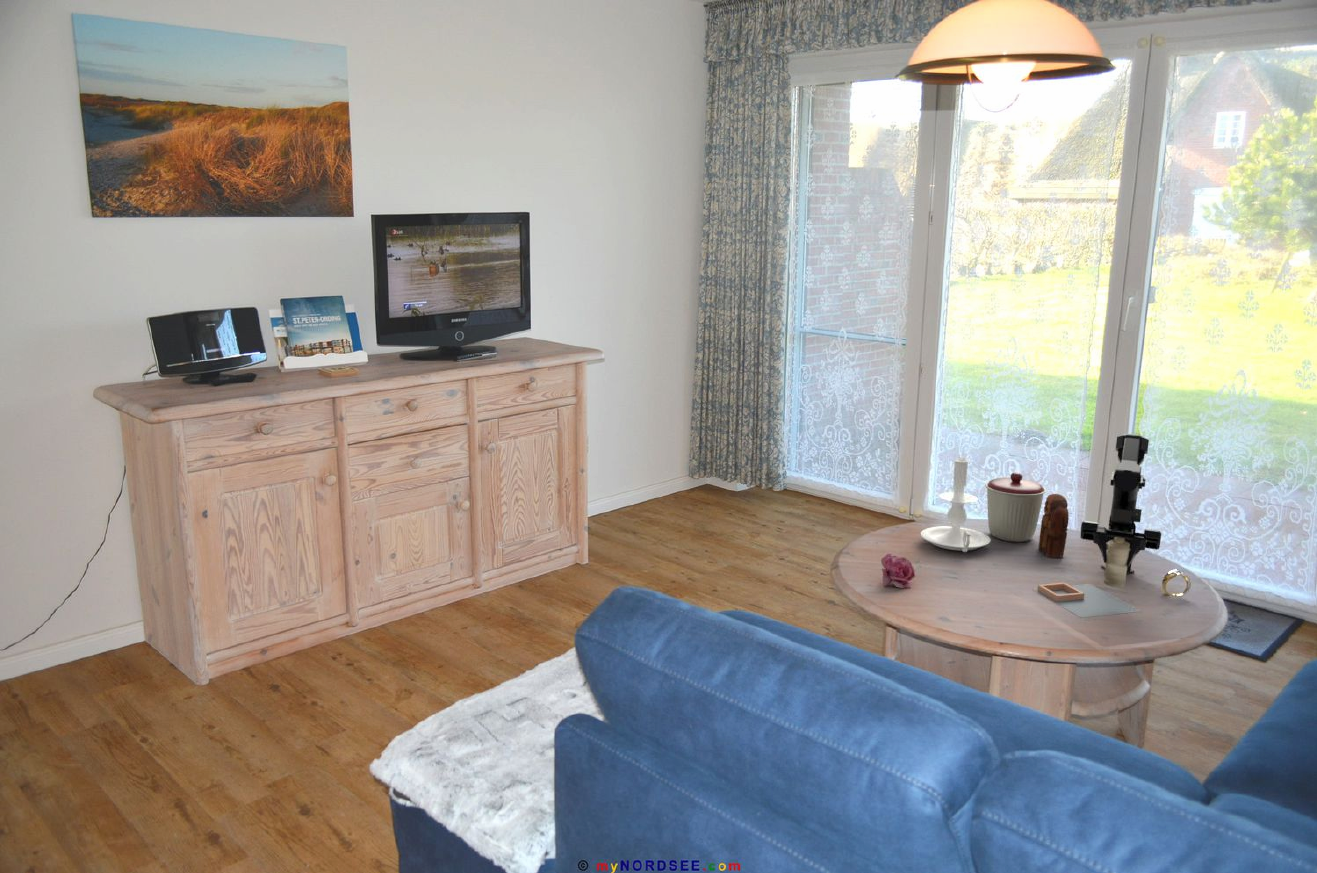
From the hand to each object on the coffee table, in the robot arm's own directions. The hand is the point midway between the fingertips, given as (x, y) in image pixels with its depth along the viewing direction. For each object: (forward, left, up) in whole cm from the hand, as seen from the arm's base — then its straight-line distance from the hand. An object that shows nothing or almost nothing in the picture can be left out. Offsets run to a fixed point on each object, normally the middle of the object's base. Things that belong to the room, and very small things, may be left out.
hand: (1116, 564), depth 253 cm
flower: (-30, -45, -13) cm, 55 cm away
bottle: (-1, +1, -6) cm, 6 cm away
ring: (-3, +22, -13) cm, 26 cm away
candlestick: (-53, -13, -13) cm, 56 cm away
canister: (-59, +10, -13) cm, 61 cm away
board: (-5, -4, -12) cm, 14 cm away
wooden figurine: (-43, +13, -13) cm, 47 cm away
